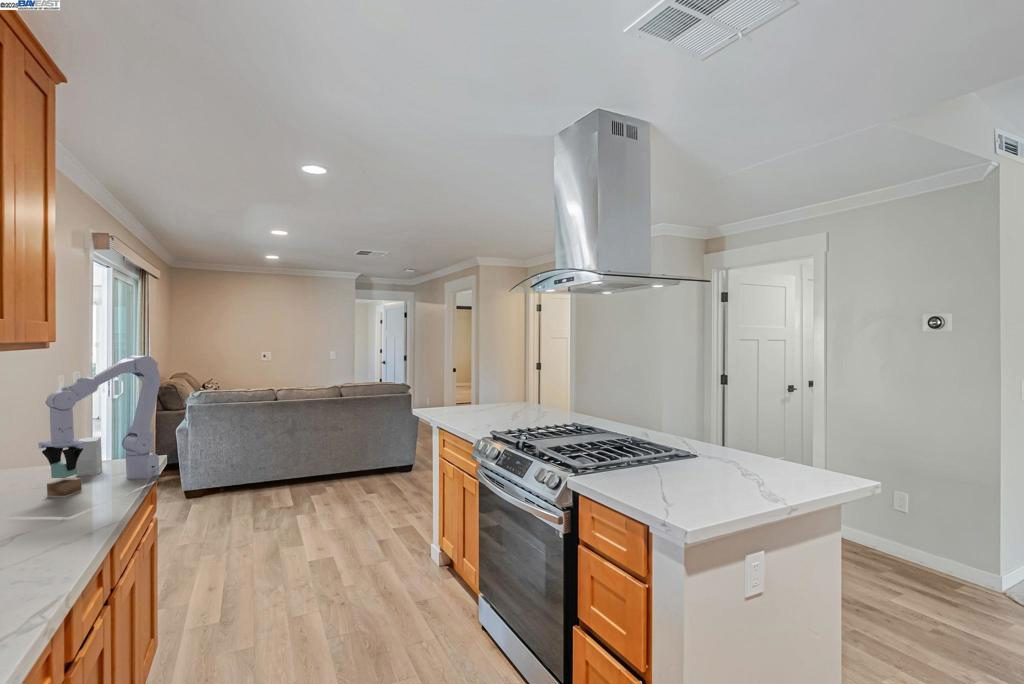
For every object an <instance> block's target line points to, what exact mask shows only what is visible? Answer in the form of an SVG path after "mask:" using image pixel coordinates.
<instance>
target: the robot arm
mask: <svg viewBox="0 0 1024 684" xmlns="http://www.w3.org/2000/svg"><path fill="white" fill-rule="evenodd" d="M158 366H159V363H158V361H156V360H155V359H154V358H153V357H152V356H150V355H138V354H137V355H135V354H134V355H132V354H131V355H129V356H127V357H125V358H122V359H121V360H119V361H118V362H115V363H114V364H113V365H110V366H109V367H107V368H106V369H103V371H101V372H99V373H97V374H95V375H94V376H92V377H87V376H85V377H78V378H77V379H75V380H76V381H75V382H73V383H71V384H69V385H67V386H63V387H61V388H60V390H58V391H54V392H52V393H50V394H49V395H48V396H47V398H46V400H45V405H46V406H47V407H48V408H49V427H50V428H49V429H50V440H43V441H39V442H38V449H43V450H42V451H41V452H42V453H41V454H42V455H44V457H46V459H47V461H48V463H49V465H50V466H51V464H53V463H56V462H60V461H62V454H63V456H64V458H65V460H66V466H67V470H68V471H71V470H74V469H75V467H76V463H77V460H78V457H79V455H80V453H81V452H82V450H83V448H85V447H87V441H78V440H79V439H77V440H76V439H75V430H74V429H75V428H74V412H73V408H74V407H75V406H76V404H77V403H78V402H79V401H81V400H83V399H85V398H86V397H87V398H88V396H90V395H92V394H94V393H96V392H97V391H98V389H99V386H100V385H103V384H105V383H107V382H108V381H110V380H112V379H114V378H116V377H118V376H120V375H122V374H133V375H134V376H136V378H138V379H139V380H140V381H141V387H140V392H139V396H138V400H137V405H136V409H135V412H134V418H133V421H132V425H131V426H130V427H129V428H128V429H127V431H126V434H125V435H124V437H123V439H122V440H121V447H122V448H123V449H124V450H125V470H126V471H125V472H126V473H125V474H126V479H129V480H137V479H150V478H153V477H154V476H160V475H161V474H162V473H161V472H160V459H159V456H158V454H157V453H153V452H151V450H152V448H153V447H154V440H153V434H154V433H153V431H152V428H151V425H152V420H153V415H154V413H155V408H156V407H155V406H156V402H157V399H158V394H159V389H160V386H161V383H162V382H161V381H162V377H161V374H160V370H159V368H158Z"/></svg>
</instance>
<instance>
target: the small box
mask: <svg viewBox="0 0 1024 684" xmlns="http://www.w3.org/2000/svg"><path fill="white" fill-rule="evenodd" d="M77 440H78V441H87V447H85V448H83V450H82V452H81V453H80V455H79V457H78V460H77V474H75V476H76V477H82V476H84V477H85V476H98V475H100V473H101V472H102V471H103V458H102V437H101V436H94V437H85V438H79V439H77Z"/></svg>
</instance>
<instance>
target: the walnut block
mask: <svg viewBox="0 0 1024 684" xmlns="http://www.w3.org/2000/svg"><path fill="white" fill-rule="evenodd" d="M82 489H83V487H82V477H67V478H58V479H57V480H53V481H50V482H47V483H46V496H66V497H68V496H67V495H69V496H71V495H70V494H72V493H74V494H76V493H75V492H77V493H79V492H78V491H80V490H82ZM82 491H83V490H82ZM80 492H81V491H80ZM72 495H73V494H72Z"/></svg>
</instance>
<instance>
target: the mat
mask: <svg viewBox="0 0 1024 684" xmlns="http://www.w3.org/2000/svg"><path fill="white" fill-rule="evenodd" d="M84 490H85V488H84V489H83V488H82V490H80V491H78V492H75V493H72V494H70V495H67V496H47V495H45V496H44V497H45V498H47V497H50V498H51V497H53V498H57V497H59V498H66V497H69V496H71V495H75V494H77V493H80V492H81V491H84Z"/></svg>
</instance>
